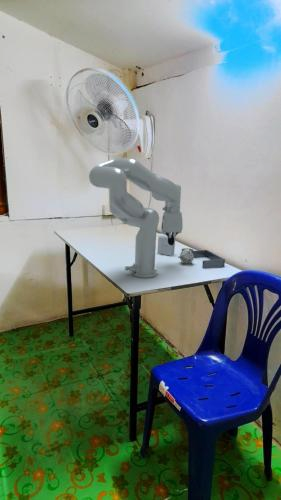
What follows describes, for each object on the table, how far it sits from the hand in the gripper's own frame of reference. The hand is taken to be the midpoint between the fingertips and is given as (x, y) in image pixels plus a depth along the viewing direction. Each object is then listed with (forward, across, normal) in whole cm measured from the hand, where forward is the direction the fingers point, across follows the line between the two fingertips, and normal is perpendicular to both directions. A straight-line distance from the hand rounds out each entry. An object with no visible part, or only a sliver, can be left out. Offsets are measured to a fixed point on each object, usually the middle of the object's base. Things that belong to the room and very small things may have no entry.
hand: (170, 244), depth 168 cm
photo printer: (+12, +5, +18) cm, 22 cm away
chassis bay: (+11, +20, 0) cm, 23 cm away
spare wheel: (+12, +18, +16) cm, 27 cm away
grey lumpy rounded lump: (+11, +9, 0) cm, 15 cm away
